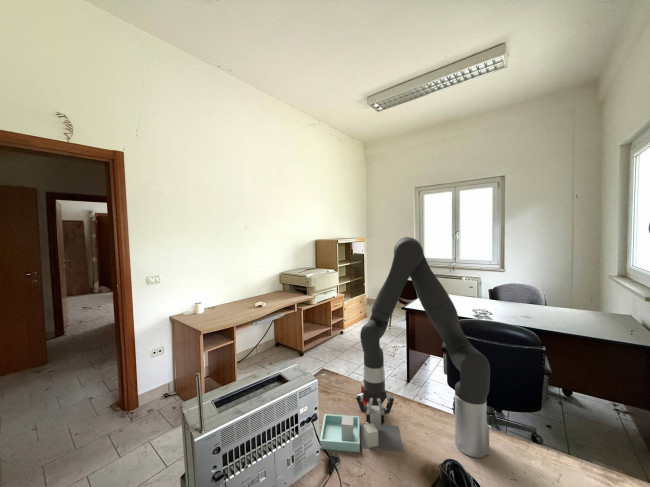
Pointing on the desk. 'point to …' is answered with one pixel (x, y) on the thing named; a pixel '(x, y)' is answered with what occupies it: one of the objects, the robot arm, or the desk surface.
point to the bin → (338, 434)
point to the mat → (385, 439)
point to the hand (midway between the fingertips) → (375, 422)
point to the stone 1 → (347, 429)
